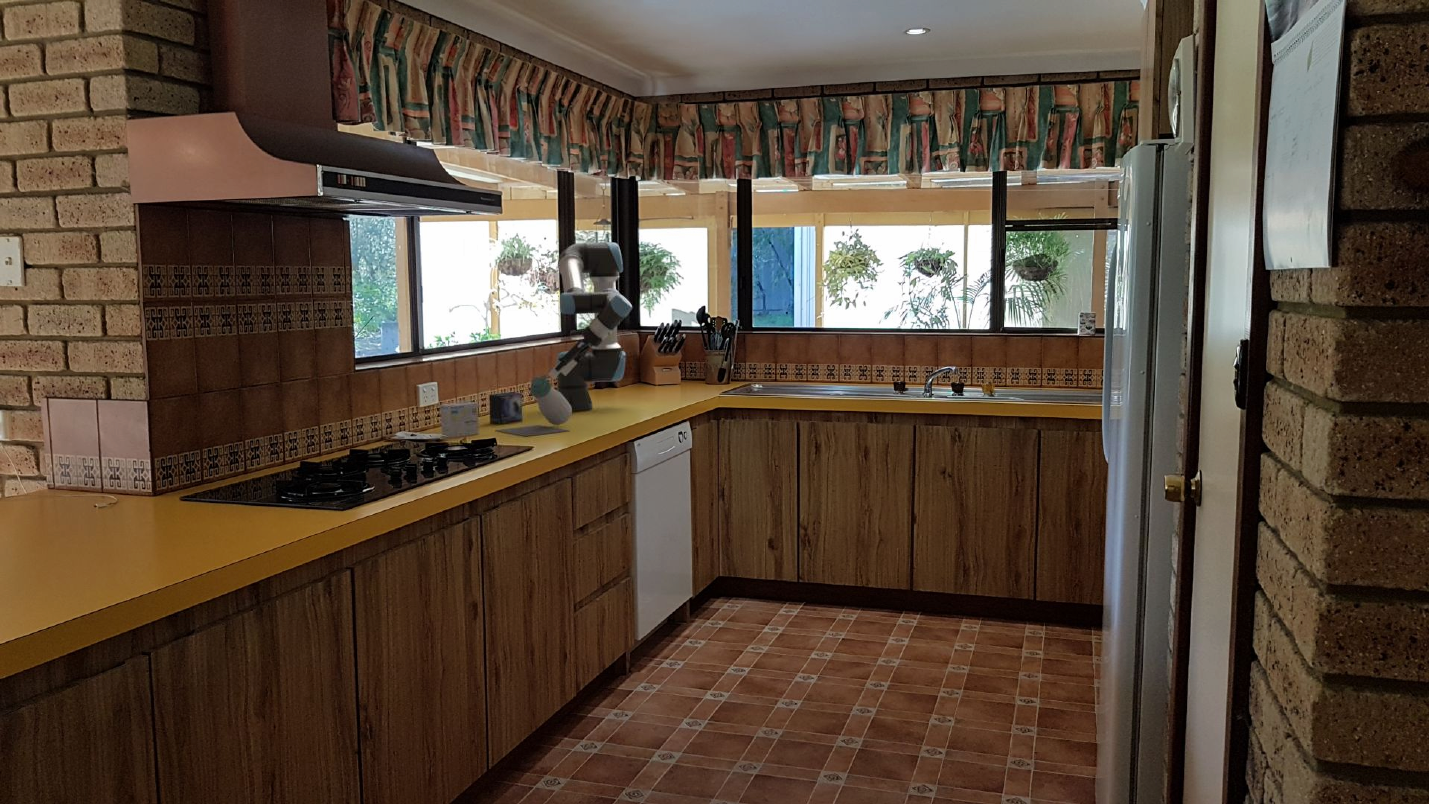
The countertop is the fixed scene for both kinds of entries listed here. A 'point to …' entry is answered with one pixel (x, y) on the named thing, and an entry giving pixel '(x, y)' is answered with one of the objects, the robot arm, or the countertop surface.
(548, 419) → the soap bottle
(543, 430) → the charcoal mat
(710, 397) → the countertop surface
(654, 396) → the countertop surface
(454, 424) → the light bulb box
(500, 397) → the small box
